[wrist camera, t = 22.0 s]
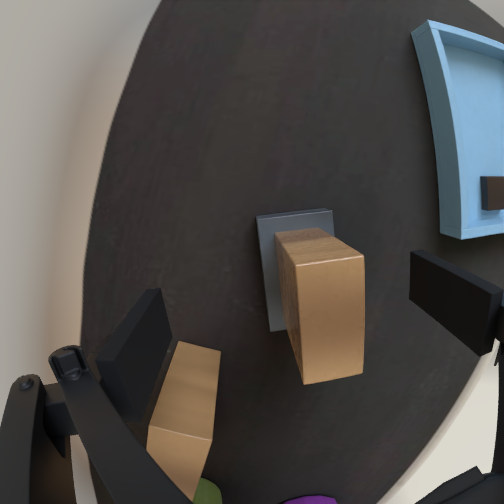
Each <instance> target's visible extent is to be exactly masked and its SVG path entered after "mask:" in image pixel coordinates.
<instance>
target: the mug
mask: <svg viewBox="0 0 504 504" xmlns="http://www.w3.org/2000/svg"><path fill="white" fill-rule="evenodd" d="M283 504H337V502H336V501H335V499H334V498H330V497H326V496H322V495H316V496H303V497H299V498H296V499H292V500H288V501H286V502H284V503H283Z"/></svg>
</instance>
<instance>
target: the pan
mask: <svg viewBox="0 0 504 504" xmlns="http://www.w3.org/2000/svg"><path fill="white" fill-rule="evenodd" d="M411 35H412V39H413V42H414V46H415V49H416V53H417V57H418V61H419V65H420V69H421V73H422V77H423V82H424V86H425V91H426V96H427V101H428V107H429V112H430V118H431V124H432V131H433V138H434V146H435V155H436V164H437V175H438V189H439V210H440V233H442V234H445V235H448V236H452V237H455V238H458V239H461V240H462V239H469V238H475V237H481V236H487V235H493V234H499V233H504V210H493V211H486V210H482V205H481V181H480V176H504V44H502V43H500V42H497V41H494V40H492V39H489V38H486V37H484V36H481V35H478V34H475V33H472V32H469V31H466V30H463V29H460V28H456V27H453V26H449V25H446V24H442V23H438V22H434V21H430V20H427V21H426V22H424V23H423V24H422V25H421V26H419V27H418V28H417V29H415V30H414V31H413V32H411Z"/></svg>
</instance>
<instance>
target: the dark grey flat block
mask: <svg viewBox="0 0 504 504" xmlns="http://www.w3.org/2000/svg"><path fill="white" fill-rule="evenodd" d="M480 181H481V205H482V210H486V211H493V210H504V176H480Z"/></svg>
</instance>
